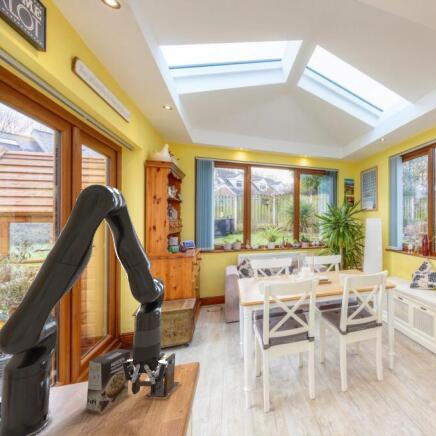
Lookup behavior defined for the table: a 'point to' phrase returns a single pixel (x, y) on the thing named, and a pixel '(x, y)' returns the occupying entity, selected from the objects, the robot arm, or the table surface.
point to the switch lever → (148, 381)
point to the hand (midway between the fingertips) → (145, 392)
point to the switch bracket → (167, 378)
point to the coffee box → (107, 379)
